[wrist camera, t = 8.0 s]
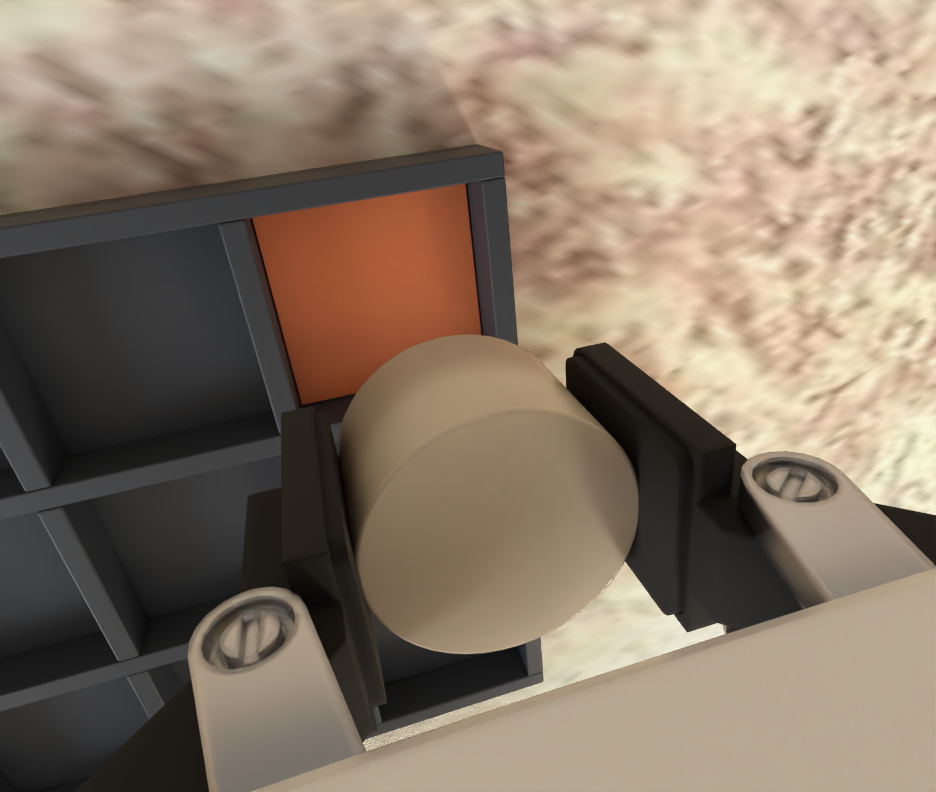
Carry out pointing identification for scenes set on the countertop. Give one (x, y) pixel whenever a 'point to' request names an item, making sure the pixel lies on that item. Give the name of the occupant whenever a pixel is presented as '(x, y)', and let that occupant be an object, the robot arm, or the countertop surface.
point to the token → (480, 496)
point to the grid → (207, 420)
